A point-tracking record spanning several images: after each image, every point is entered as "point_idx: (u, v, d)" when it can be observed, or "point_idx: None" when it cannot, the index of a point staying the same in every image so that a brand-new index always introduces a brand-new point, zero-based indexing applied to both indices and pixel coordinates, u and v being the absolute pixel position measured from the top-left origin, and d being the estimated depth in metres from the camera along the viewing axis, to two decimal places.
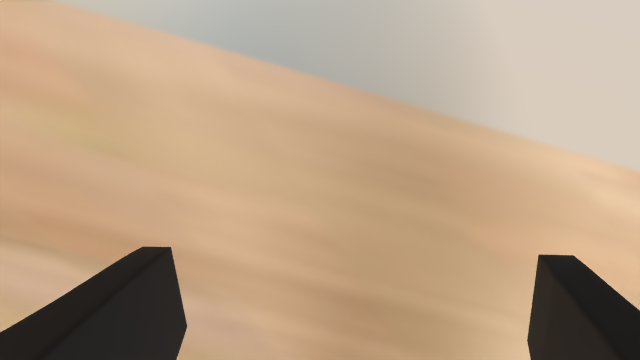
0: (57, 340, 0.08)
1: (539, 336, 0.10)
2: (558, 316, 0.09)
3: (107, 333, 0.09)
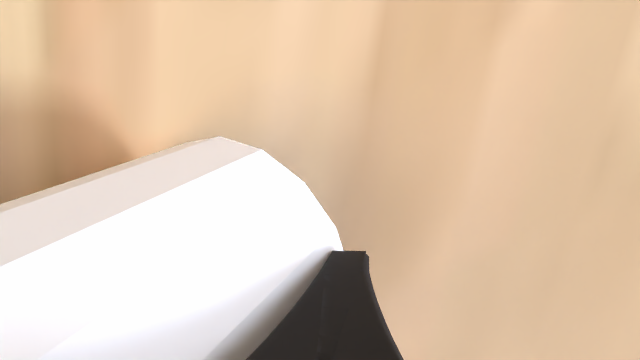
0: (330, 353, 0.07)
1: None
2: None
3: None
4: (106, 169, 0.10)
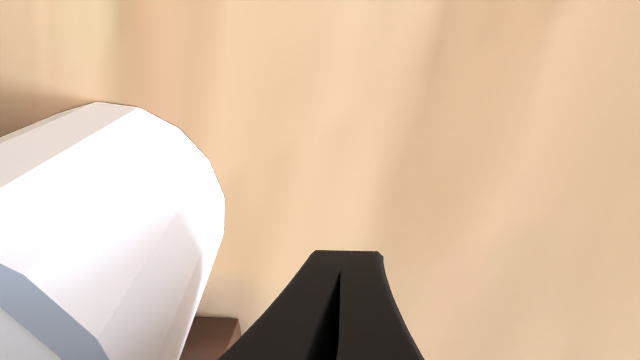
0: (303, 351, 0.07)
1: None
2: None
3: (324, 342, 0.08)
4: (7, 134, 0.12)
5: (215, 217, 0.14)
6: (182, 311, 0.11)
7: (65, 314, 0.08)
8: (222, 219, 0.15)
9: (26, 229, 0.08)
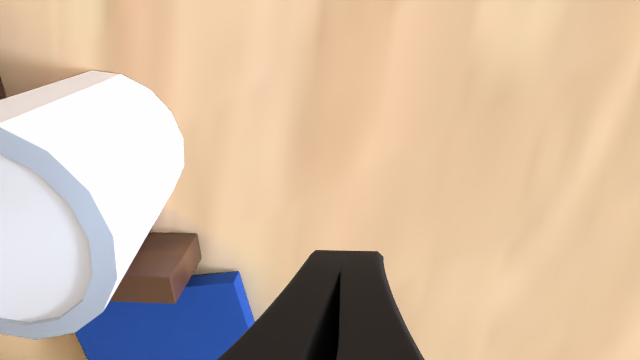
0: (302, 351, 0.07)
1: None
2: None
3: (324, 342, 0.08)
4: None
5: (174, 150, 0.19)
6: (146, 200, 0.17)
7: (71, 176, 0.14)
8: (181, 155, 0.20)
9: (48, 131, 0.14)
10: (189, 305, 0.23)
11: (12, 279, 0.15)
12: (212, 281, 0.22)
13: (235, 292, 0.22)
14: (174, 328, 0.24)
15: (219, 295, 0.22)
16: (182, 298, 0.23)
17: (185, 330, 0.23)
